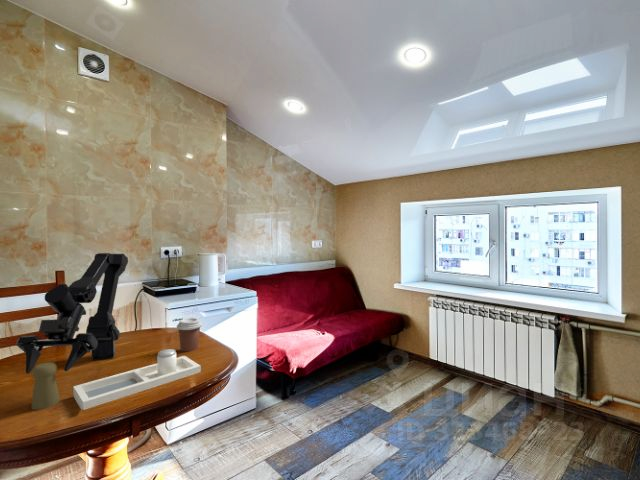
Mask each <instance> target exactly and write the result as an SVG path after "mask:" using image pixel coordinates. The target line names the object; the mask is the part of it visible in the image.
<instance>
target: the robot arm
mask: <svg viewBox="0 0 640 480" xmlns="http://www.w3.org/2000/svg"><path fill="white" fill-rule="evenodd" d="M128 262H129V259H128V256H126V255H125V253H110V252H98V253H96V254H95V255H94V259H93V260H92V261H91V263H90V265H89V266H88V268H87V269H86V270H85V272H84V273H83V275H82V276H81V278H79V279H76V280H75V281H73V282H72V283H71V284H70V285H69V286H68V284H66V283H59V284H58V285H57V286H56V287H53V288H52V289H50V290H48V291H47V292H46V293H45V294H44V301H45V302H46V303H47V305H49V306H50V307H51V308H52V309H53V311H54V312H56V313H58V316H57V318H56V319H41V321H40V324H39V327H38V328H39V329H38V332H39V333H44V334H43V335H44V337H45V338H48V339H41V338H40V337H38V335H37V334H36V335H32V334H31V335H22V336H20V337H19V338H18V339H17V341H16V343H15V346H17V347H18V348H19V349H20V350H21V351H22V352H23V353H25V357H26V358H25V373H26V374H27V375H28V374H30V373H32V371H33V369H34V367H35V366H36V364H37V362H38V360H39V359H40V357H41V355H42V353H41V351H43V349H44V348H46V347H62V346H63V347H64V346H67V347H68V346H71V351H70V353H69V356H68V359H67V361H66V363H65V366H64V367H63V368H64V369H63V371H64V373H65V372H66V373H67V372H68V371H69V370H70V369H71V368H72V367H73V366H74V365H75V364H76V363H77V362H78V361H79V360H81V358H83V356H85V355H86V354H87V353H90V352H91V358H92V361H99V360H100V361H101V360H105V359H106V360H107V359H113V358H114V357H115V355H116V353H117V351H116V345H115V344H116V343H115V341H117V340H119V338H120V333H121V332H120V330H119V329H118V327H117V326H116V320H115V317H114V315H113V311H114V305H115V300H116V295H117V289H118V284H119V279H120V276H121V275H122V274H123V273H124V272H125V271H126V268H127V265H128ZM102 276H104V277H103V280H102V286H101V290H100V296H99V300H98V305H97V309H96V310H97V311H96V312H95V314H94V315H93V316H90V317H89V318H88V323H87V326H86V331H85V332H80V333H77V334H76V332H79V330H80V327H79V324H80V321H81V319H82V316H85V315H87V311H86V310H85V307H84V306H83V305H82V304H91V303H92V302H93V300H94V299H95V297H96V295H97V292H98V291H97V290H98V289H97V285H98V283H99V282H100V280H101V279H102Z"/></svg>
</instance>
